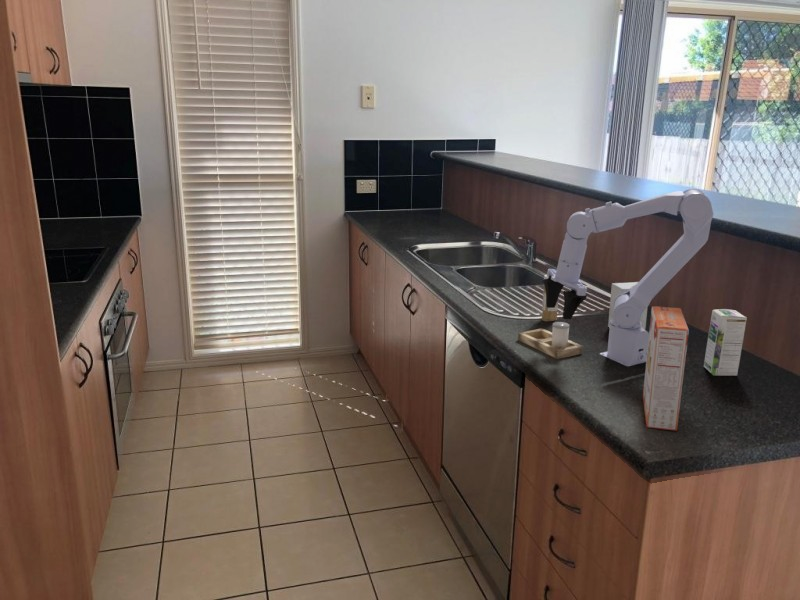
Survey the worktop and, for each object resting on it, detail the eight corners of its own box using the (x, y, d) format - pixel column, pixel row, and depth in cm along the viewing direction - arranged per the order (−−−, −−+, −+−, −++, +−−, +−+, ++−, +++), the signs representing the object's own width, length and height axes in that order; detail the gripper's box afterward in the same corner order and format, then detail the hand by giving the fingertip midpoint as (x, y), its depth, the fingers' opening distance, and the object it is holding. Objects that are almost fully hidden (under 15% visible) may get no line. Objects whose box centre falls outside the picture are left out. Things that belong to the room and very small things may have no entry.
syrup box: (702, 366, 157) (710, 308, 153) (727, 366, 157) (736, 309, 153) (712, 376, 152) (721, 316, 147) (738, 376, 151) (748, 316, 147)
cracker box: (640, 398, 140) (651, 304, 134) (670, 402, 138) (682, 307, 132) (643, 428, 127) (655, 325, 121) (677, 432, 125) (691, 328, 119)
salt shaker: (570, 352, 165) (572, 325, 163) (558, 354, 163) (560, 328, 161) (559, 347, 168) (561, 321, 166) (547, 349, 166) (549, 323, 164)
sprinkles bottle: (554, 323, 188) (557, 278, 184) (539, 321, 190) (542, 276, 187) (559, 319, 192) (562, 274, 188) (544, 316, 194) (546, 272, 190)
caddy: (582, 355, 164) (582, 346, 163) (557, 361, 160) (558, 351, 160) (541, 337, 177) (542, 328, 176) (517, 341, 174) (518, 332, 173)
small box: (633, 325, 186) (638, 281, 183) (645, 333, 180) (650, 287, 177) (607, 327, 185) (611, 282, 181) (617, 334, 179) (622, 288, 175)
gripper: (541, 251, 165) (530, 302, 169) (573, 269, 152) (560, 324, 156) (565, 253, 167) (553, 302, 172) (599, 270, 154) (585, 324, 159)
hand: (558, 312), depth 164 cm, fingers open, 7 cm apart
